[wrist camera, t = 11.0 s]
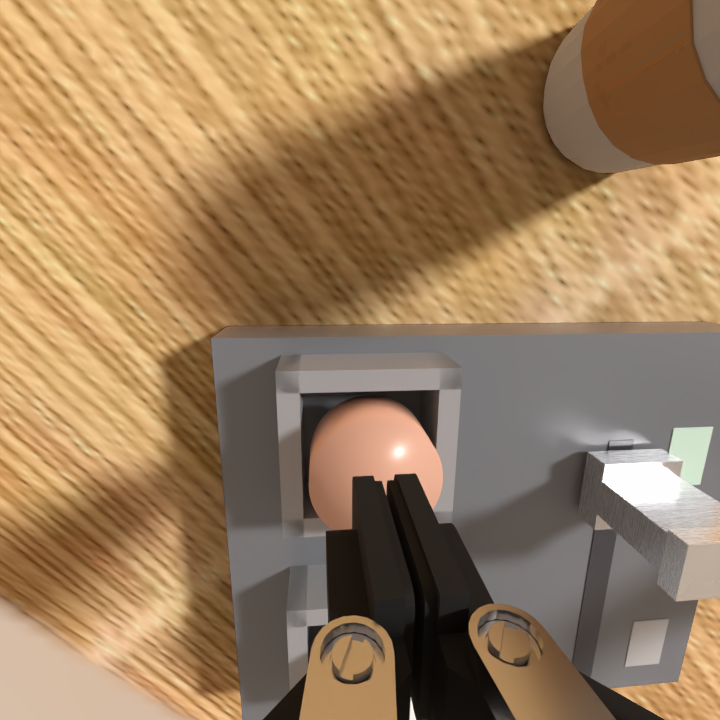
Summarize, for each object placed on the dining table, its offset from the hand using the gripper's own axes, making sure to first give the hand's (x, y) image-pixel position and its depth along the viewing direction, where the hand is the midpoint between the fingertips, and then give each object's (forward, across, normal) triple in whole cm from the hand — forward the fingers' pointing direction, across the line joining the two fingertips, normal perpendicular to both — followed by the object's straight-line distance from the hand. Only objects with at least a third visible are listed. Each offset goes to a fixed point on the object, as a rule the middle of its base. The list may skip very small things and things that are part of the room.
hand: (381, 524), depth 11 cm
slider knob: (+7, -12, +3) cm, 14 cm away
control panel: (+10, -6, +6) cm, 13 cm away
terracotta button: (+5, 0, 0) cm, 5 cm away
